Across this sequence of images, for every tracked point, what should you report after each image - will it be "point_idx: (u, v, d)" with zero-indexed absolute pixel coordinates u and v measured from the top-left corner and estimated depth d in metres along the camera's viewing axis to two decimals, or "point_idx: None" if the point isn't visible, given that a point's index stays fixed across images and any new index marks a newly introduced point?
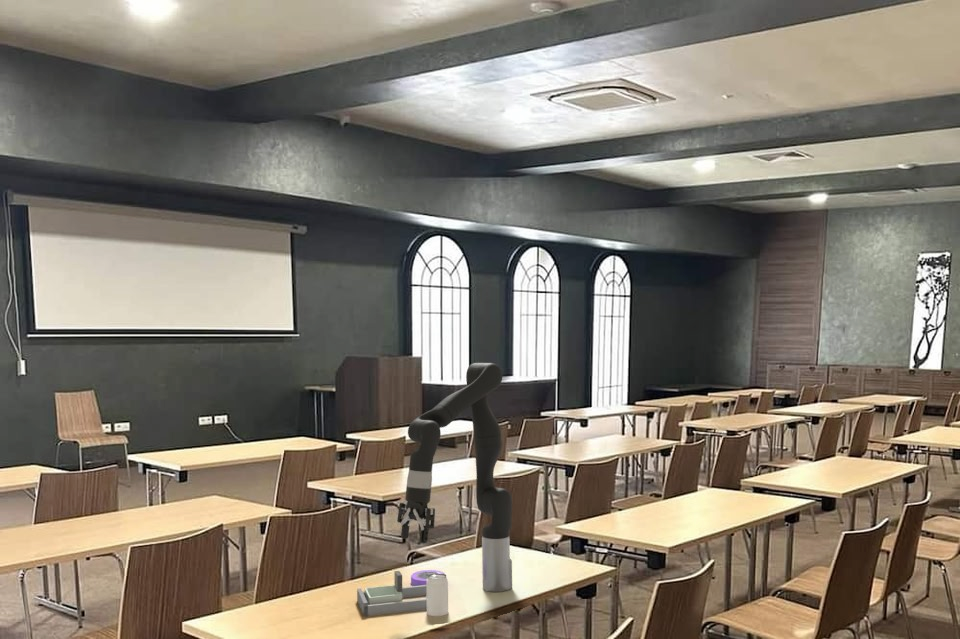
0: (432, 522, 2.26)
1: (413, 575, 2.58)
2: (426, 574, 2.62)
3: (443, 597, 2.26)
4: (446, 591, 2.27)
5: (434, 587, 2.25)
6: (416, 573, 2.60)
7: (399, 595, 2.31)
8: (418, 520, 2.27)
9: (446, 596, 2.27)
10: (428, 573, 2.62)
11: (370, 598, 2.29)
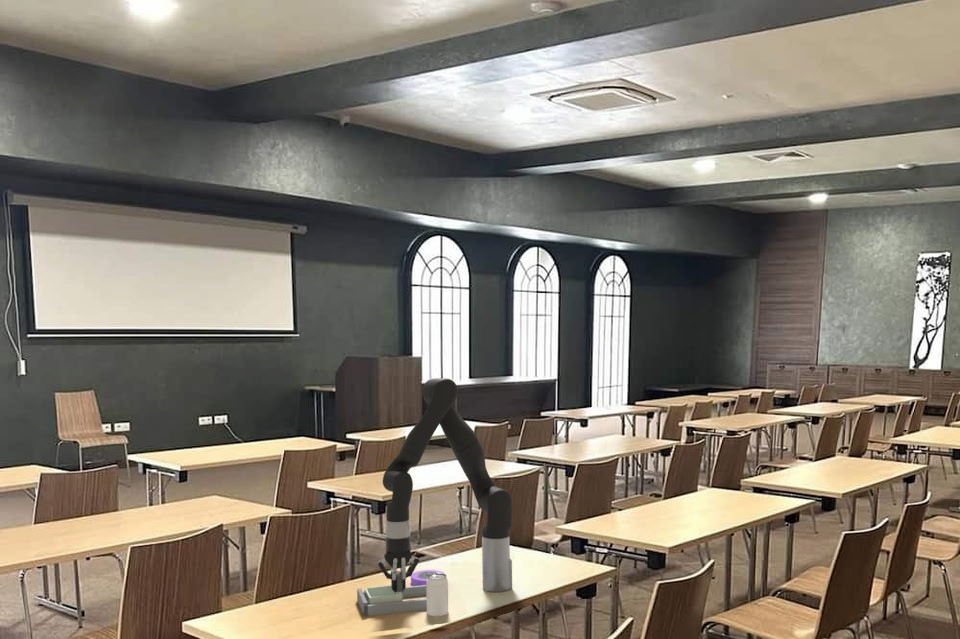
0: None
1: (413, 575, 2.58)
2: (426, 574, 2.62)
3: (443, 597, 2.26)
4: (446, 591, 2.27)
5: (434, 587, 2.25)
6: (416, 573, 2.60)
7: (399, 595, 2.31)
8: (403, 569, 2.35)
9: (446, 596, 2.27)
10: (428, 573, 2.62)
11: (370, 598, 2.29)
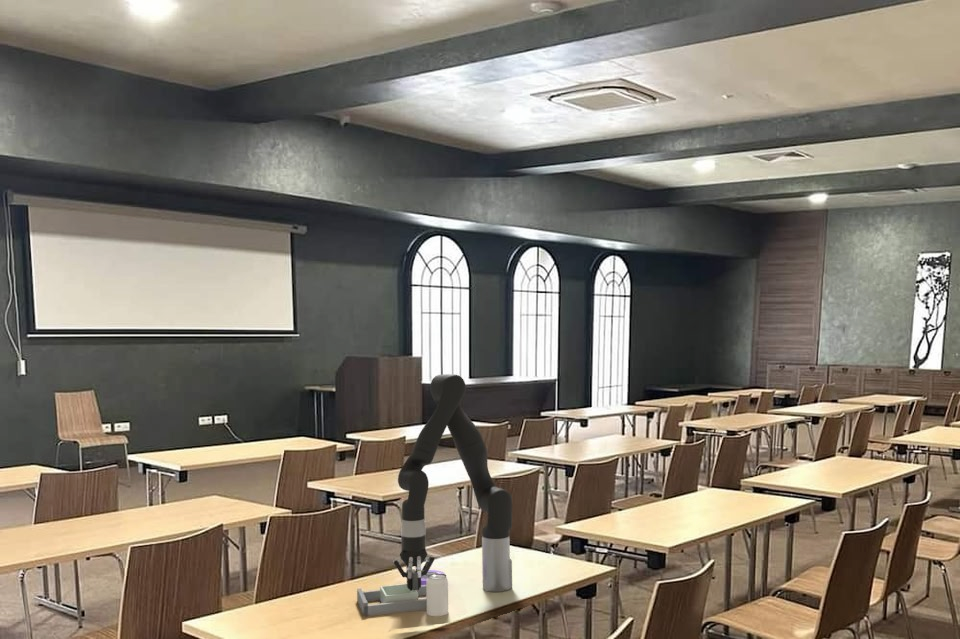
0: (426, 568, 2.40)
1: None
2: (426, 574, 2.62)
3: (443, 597, 2.26)
4: (446, 591, 2.27)
5: (434, 587, 2.25)
6: None
7: (415, 593, 2.33)
8: (419, 568, 2.37)
9: (446, 596, 2.27)
10: (428, 573, 2.62)
11: (386, 596, 2.30)
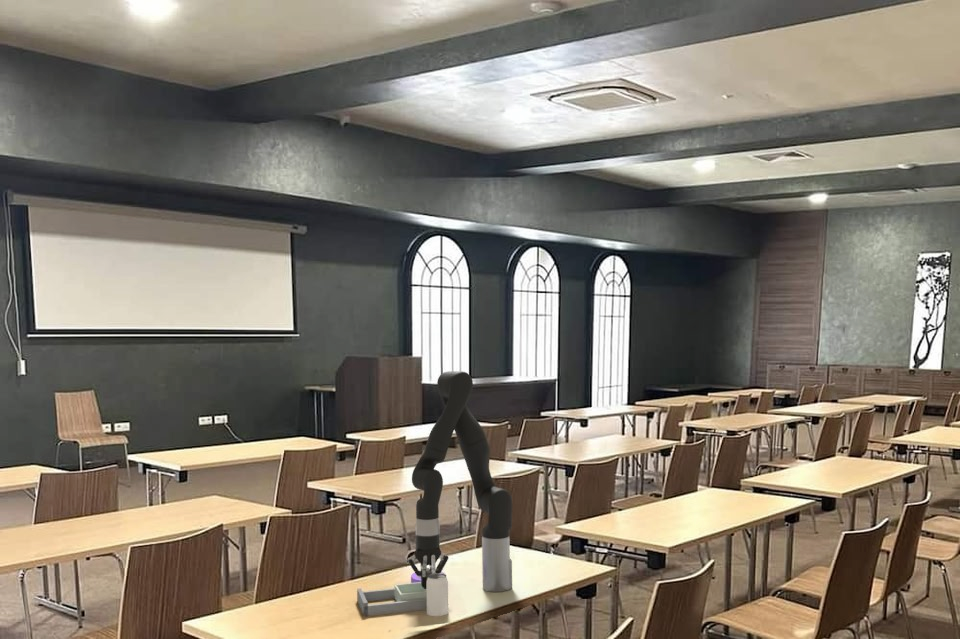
0: None
1: (413, 575, 2.58)
2: None
3: (443, 597, 2.26)
4: (446, 591, 2.27)
5: (434, 587, 2.25)
6: None
7: None
8: (433, 566, 2.38)
9: (446, 596, 2.27)
10: None
11: (401, 595, 2.31)
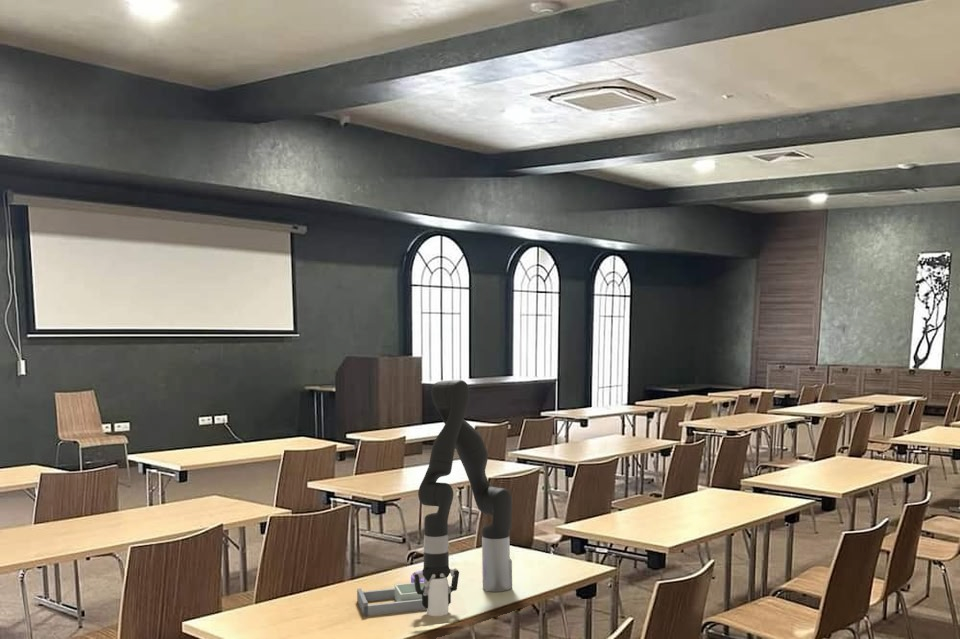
0: None
1: None
2: None
3: (443, 597, 2.26)
4: (446, 591, 2.27)
5: (434, 587, 2.25)
6: None
7: None
8: None
9: (446, 596, 2.27)
10: None
11: (401, 595, 2.31)
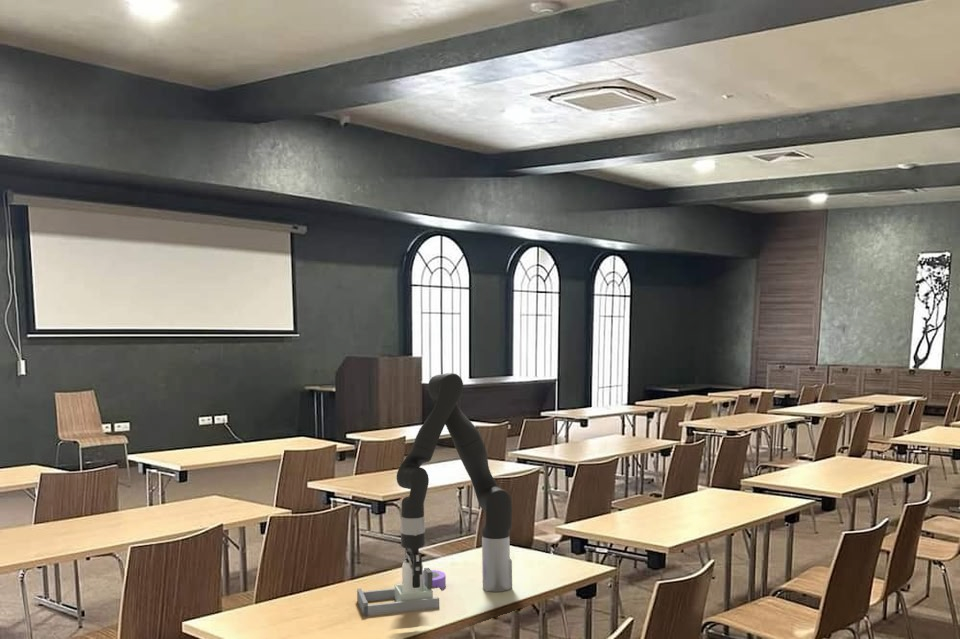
0: None
1: None
2: None
3: None
4: None
5: (422, 568, 2.38)
6: None
7: (430, 592, 2.34)
8: None
9: None
10: None
11: (401, 595, 2.31)
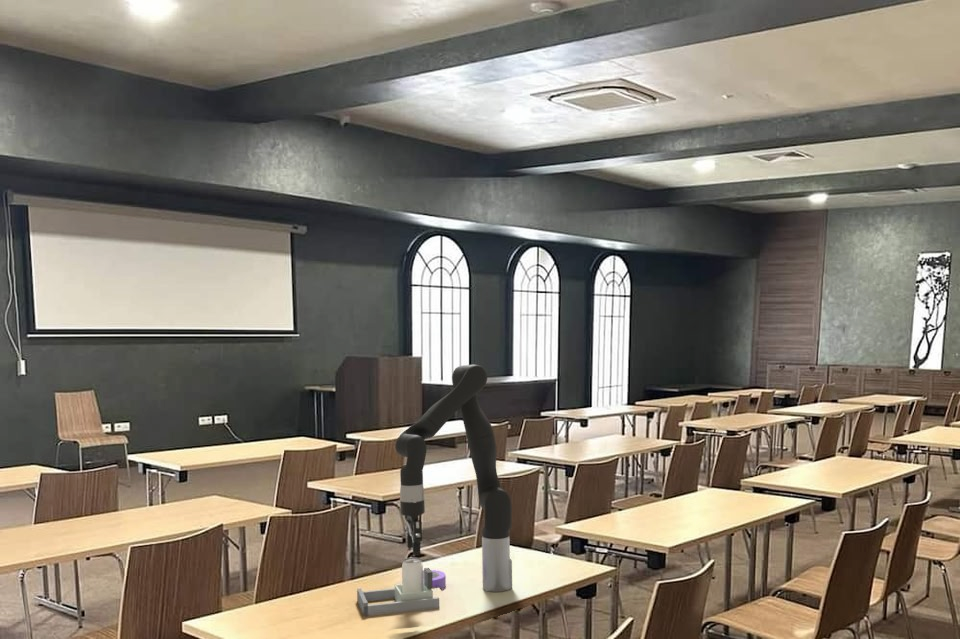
0: None
1: None
2: None
3: None
4: None
5: (422, 568, 2.38)
6: None
7: (430, 592, 2.34)
8: None
9: None
10: None
11: (401, 595, 2.31)
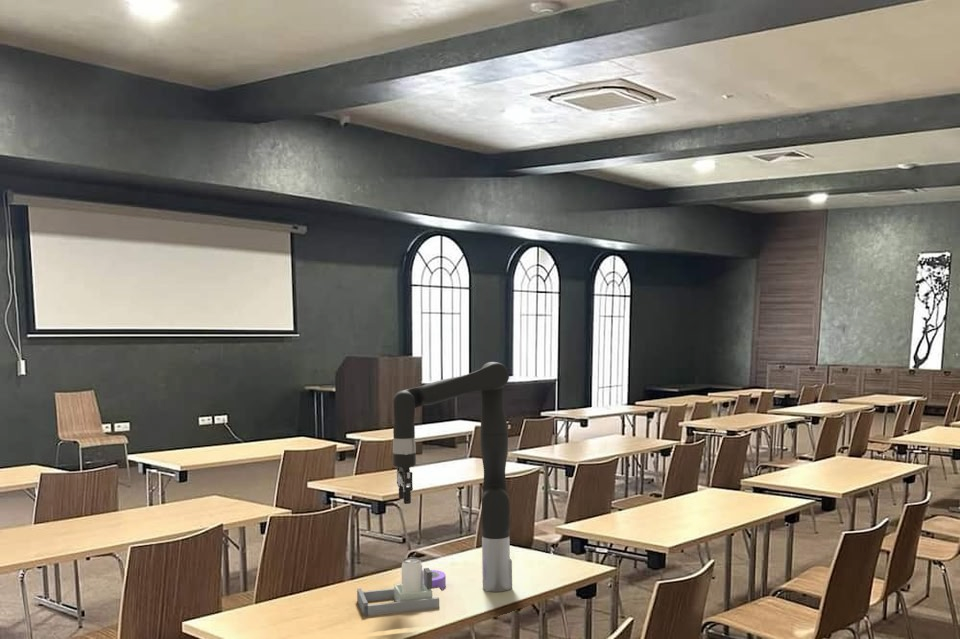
0: None
1: None
2: None
3: None
4: None
5: (421, 568, 2.38)
6: None
7: (429, 592, 2.34)
8: None
9: None
10: None
11: (401, 595, 2.31)
